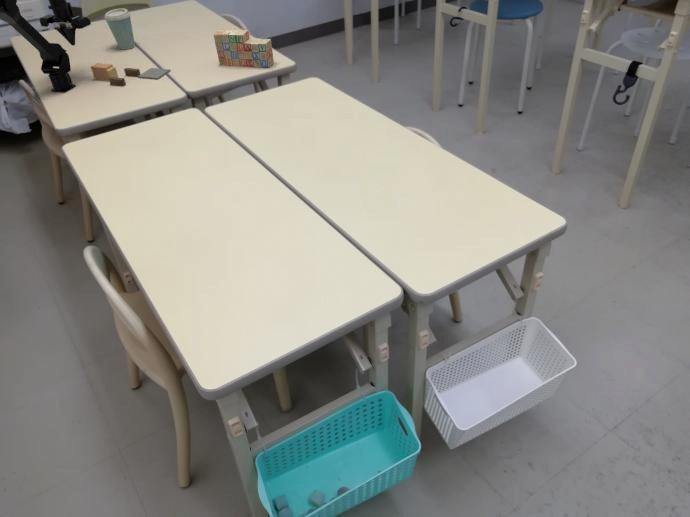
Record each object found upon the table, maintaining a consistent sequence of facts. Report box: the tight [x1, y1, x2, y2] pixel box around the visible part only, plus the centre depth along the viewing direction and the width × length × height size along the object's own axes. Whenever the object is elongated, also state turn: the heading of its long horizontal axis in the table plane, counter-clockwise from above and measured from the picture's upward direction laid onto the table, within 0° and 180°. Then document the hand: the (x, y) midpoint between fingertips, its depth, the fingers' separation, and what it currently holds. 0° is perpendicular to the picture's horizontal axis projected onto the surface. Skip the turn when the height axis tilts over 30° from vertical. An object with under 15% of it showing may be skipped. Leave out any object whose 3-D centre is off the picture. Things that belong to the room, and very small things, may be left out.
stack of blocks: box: [213, 29, 275, 69], centre depth 210 cm, size 21×6×12 cm, turn 74°
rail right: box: [123, 67, 142, 78], centre depth 209 cm, size 2×6×2 cm, turn 72°
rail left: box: [108, 77, 127, 87], centre depth 202 cm, size 2×6×2 cm, turn 72°
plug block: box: [90, 62, 119, 82], centre depth 207 cm, size 4×8×5 cm, turn 72°
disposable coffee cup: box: [104, 8, 136, 50], centre depth 232 cm, size 11×11×15 cm
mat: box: [137, 67, 172, 81], centre depth 209 cm, size 9×9×1 cm
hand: (73, 45), depth 203 cm, fingers closed
